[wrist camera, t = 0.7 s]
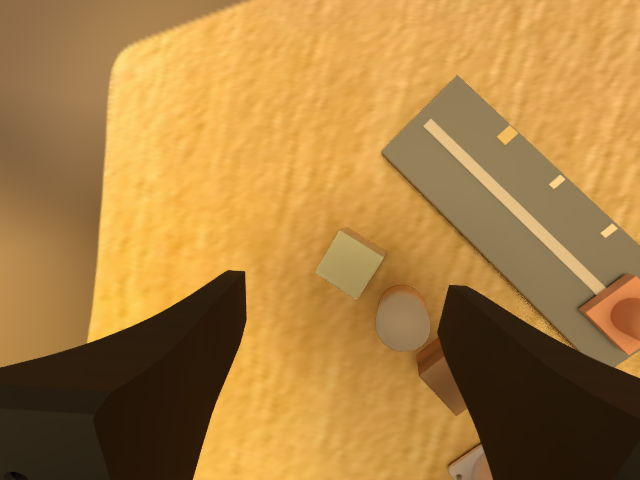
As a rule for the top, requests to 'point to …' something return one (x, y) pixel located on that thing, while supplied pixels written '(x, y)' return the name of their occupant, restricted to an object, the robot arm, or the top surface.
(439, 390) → the walnut block
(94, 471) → the robot arm
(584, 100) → the top surface
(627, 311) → the counter slider
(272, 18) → the top surface
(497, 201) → the slate board
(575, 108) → the top surface
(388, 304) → the grey cylinder
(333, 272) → the sage block
